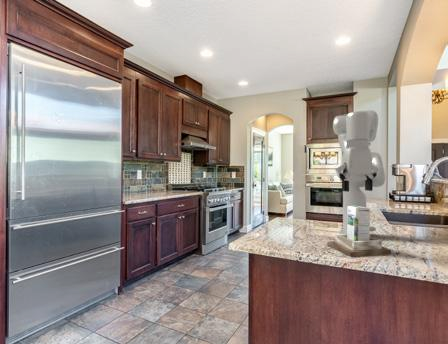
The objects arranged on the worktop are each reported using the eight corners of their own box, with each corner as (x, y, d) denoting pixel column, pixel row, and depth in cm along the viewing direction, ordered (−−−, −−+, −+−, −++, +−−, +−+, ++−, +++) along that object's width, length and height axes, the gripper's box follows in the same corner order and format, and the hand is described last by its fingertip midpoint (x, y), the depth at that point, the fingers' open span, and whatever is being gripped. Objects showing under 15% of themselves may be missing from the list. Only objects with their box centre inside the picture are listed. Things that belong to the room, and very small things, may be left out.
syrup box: (346, 243, 101) (346, 205, 101) (360, 242, 101) (360, 205, 101) (355, 247, 95) (355, 208, 95) (370, 247, 96) (370, 207, 96)
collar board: (363, 243, 106) (363, 232, 106) (391, 254, 93) (391, 241, 93) (327, 245, 104) (327, 234, 104) (350, 256, 90) (350, 243, 90)
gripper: (370, 146, 103) (370, 189, 104) (330, 146, 100) (330, 190, 100) (385, 144, 96) (385, 191, 96) (342, 144, 93) (342, 192, 93)
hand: (357, 190), depth 98 cm, fingers open, 9 cm apart
